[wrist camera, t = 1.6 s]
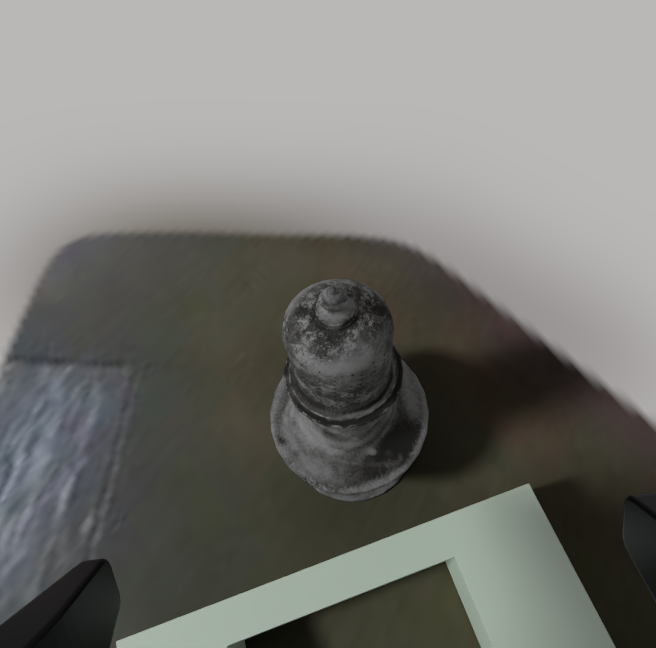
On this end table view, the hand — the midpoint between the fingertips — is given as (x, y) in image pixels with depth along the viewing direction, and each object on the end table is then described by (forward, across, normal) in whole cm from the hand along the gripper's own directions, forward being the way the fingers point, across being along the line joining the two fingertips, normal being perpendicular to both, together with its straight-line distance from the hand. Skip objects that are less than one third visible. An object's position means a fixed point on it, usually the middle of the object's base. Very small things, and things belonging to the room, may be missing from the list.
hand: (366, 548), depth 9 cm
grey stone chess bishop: (+12, 0, +5) cm, 13 cm away
